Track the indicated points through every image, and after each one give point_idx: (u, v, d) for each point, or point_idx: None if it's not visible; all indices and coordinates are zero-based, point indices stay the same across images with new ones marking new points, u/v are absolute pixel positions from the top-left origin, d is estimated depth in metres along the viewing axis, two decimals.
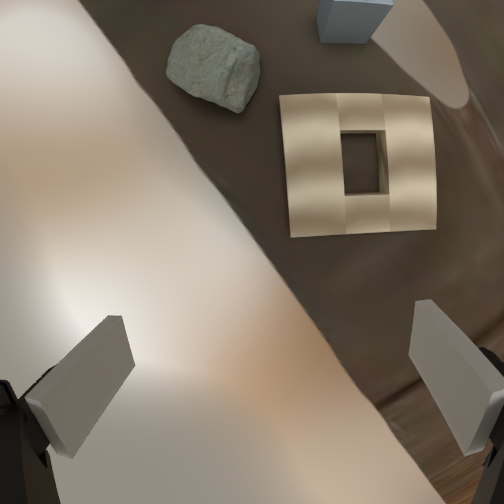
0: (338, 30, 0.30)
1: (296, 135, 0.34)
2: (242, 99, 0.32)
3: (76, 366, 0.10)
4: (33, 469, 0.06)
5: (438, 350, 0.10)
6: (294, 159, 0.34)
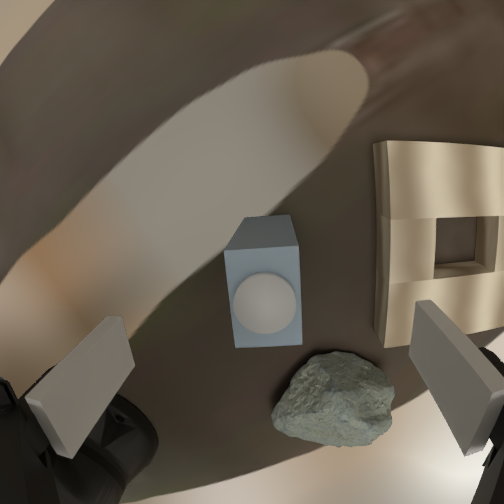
0: None
1: None
2: (387, 389, 0.27)
3: (76, 366, 0.10)
4: (33, 469, 0.06)
5: (438, 351, 0.10)
6: None
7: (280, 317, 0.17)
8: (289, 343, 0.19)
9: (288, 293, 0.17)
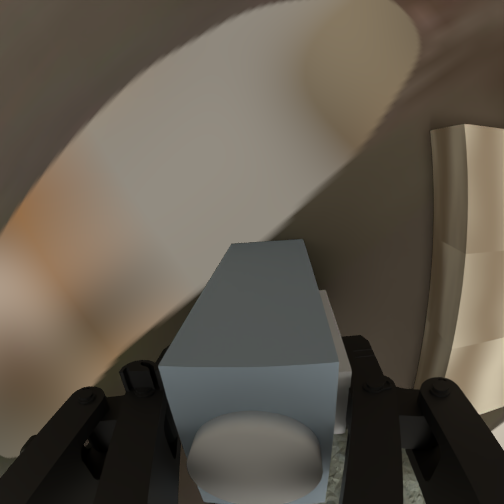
0: None
1: (491, 396, 0.15)
2: None
3: None
4: (161, 463, 0.07)
5: None
6: None
7: (287, 489, 0.07)
8: (301, 502, 0.08)
9: (307, 459, 0.06)
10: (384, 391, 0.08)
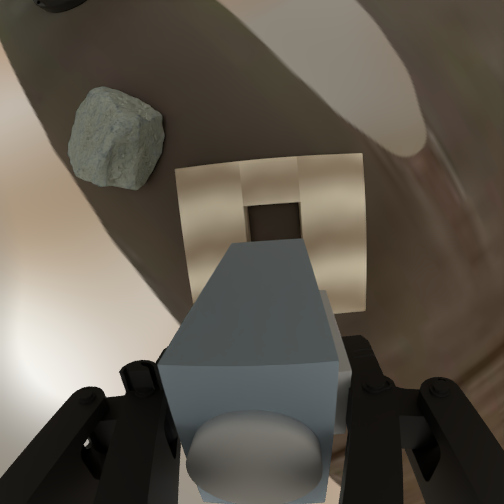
0: None
1: (194, 215, 0.31)
2: (133, 179, 0.29)
3: None
4: (161, 464, 0.07)
5: None
6: (193, 241, 0.32)
7: (287, 489, 0.07)
8: (301, 502, 0.08)
9: (307, 459, 0.06)
10: (384, 391, 0.08)
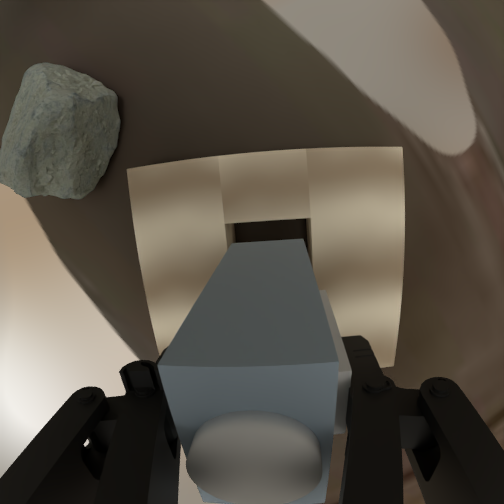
0: None
1: (154, 236, 0.21)
2: (70, 185, 0.19)
3: None
4: (161, 464, 0.07)
5: None
6: (155, 273, 0.22)
7: (286, 489, 0.07)
8: (301, 502, 0.08)
9: (307, 460, 0.06)
10: (384, 391, 0.08)
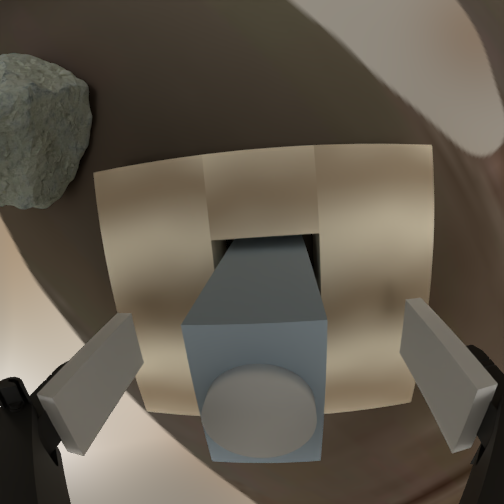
0: None
1: (127, 254, 0.17)
2: (29, 193, 0.15)
3: (88, 363, 0.10)
4: (44, 468, 0.06)
5: (427, 348, 0.10)
6: (129, 299, 0.18)
7: (286, 438, 0.09)
8: (299, 459, 0.10)
9: (303, 406, 0.08)
10: None
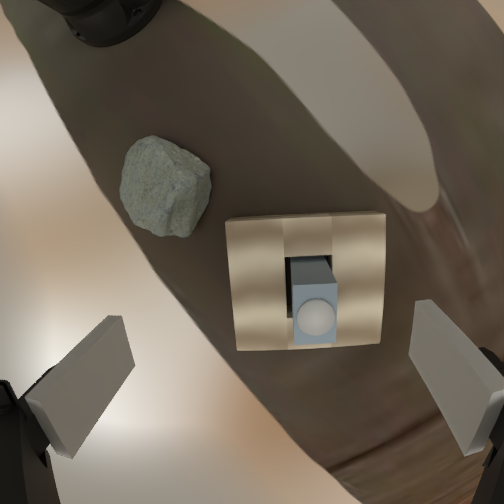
0: None
1: (241, 262, 0.37)
2: (187, 229, 0.35)
3: (76, 366, 0.10)
4: (33, 469, 0.06)
5: (438, 350, 0.10)
6: (239, 285, 0.37)
7: (325, 325, 0.28)
8: (328, 342, 0.30)
9: (330, 311, 0.28)
10: None
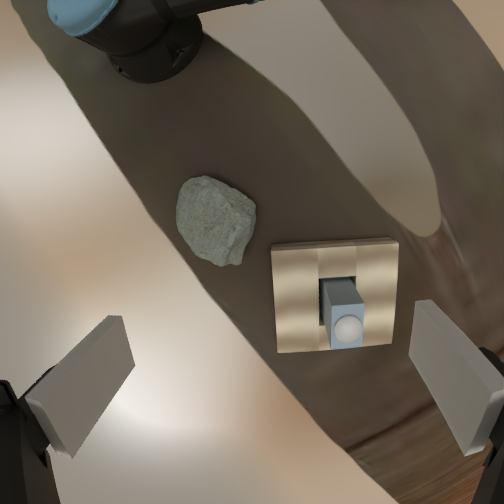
0: None
1: (283, 283, 0.45)
2: (241, 258, 0.43)
3: (76, 366, 0.10)
4: (33, 469, 0.06)
5: (438, 351, 0.10)
6: (281, 301, 0.46)
7: (354, 334, 0.37)
8: (356, 346, 0.38)
9: (359, 324, 0.36)
10: None
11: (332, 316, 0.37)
